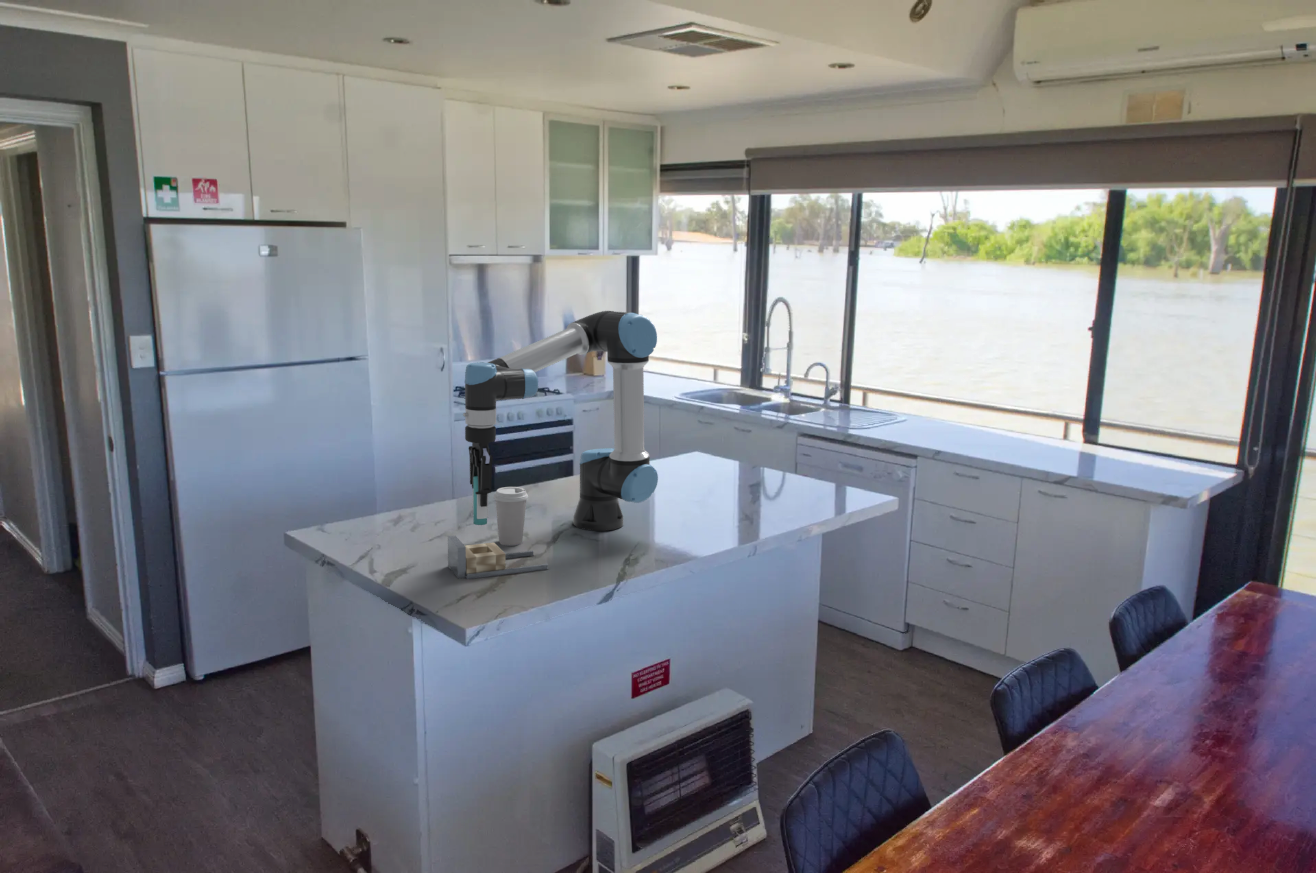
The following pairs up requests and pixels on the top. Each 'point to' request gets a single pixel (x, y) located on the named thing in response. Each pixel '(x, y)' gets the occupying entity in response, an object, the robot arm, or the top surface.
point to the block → (484, 558)
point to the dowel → (475, 489)
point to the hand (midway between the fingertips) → (480, 515)
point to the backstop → (459, 569)
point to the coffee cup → (510, 514)
